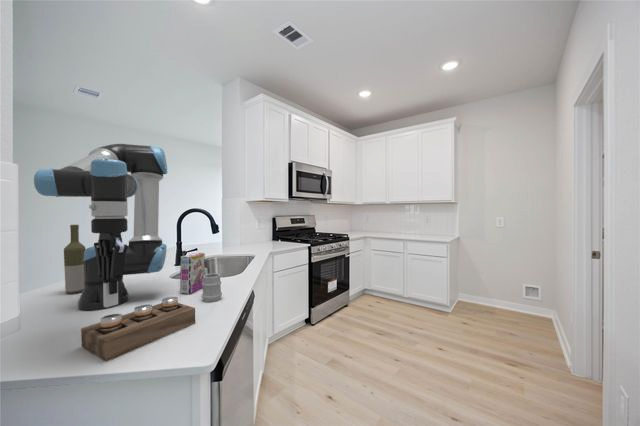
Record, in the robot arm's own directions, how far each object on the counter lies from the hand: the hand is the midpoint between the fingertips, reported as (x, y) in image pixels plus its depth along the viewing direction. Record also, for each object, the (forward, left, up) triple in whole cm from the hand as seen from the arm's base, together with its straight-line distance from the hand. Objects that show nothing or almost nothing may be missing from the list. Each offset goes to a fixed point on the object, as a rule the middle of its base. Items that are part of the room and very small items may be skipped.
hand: (110, 305), depth 69 cm
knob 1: (0, 0, -8) cm, 8 cm away
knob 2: (0, +8, -8) cm, 12 cm away
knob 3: (0, +16, -8) cm, 18 cm away
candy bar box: (-24, +41, -12) cm, 49 cm away
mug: (-9, +38, -12) cm, 41 cm away
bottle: (-67, +14, -12) cm, 70 cm away
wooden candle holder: (0, +8, -11) cm, 14 cm away
